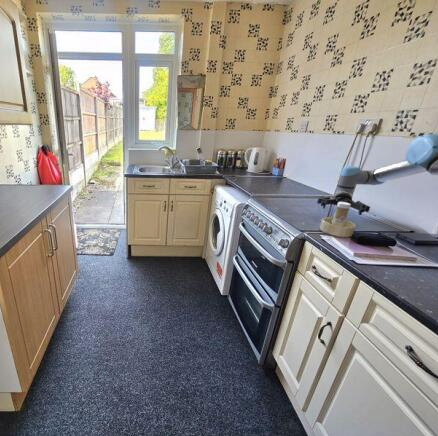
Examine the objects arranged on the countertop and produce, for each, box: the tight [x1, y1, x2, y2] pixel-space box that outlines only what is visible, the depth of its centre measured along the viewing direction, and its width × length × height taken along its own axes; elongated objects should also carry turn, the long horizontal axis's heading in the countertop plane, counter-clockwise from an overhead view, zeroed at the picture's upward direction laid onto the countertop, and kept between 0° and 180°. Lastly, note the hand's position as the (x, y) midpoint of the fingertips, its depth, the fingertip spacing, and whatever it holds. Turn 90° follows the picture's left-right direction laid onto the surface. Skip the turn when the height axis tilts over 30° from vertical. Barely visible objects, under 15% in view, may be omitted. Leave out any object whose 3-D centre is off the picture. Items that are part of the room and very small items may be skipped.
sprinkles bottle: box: [332, 202, 351, 227], centre depth 110 cm, size 5×5×13 cm
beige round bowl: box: [319, 216, 357, 238], centre depth 111 cm, size 12×12×5 cm
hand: (342, 208), depth 113 cm, fingers open, 13 cm apart
